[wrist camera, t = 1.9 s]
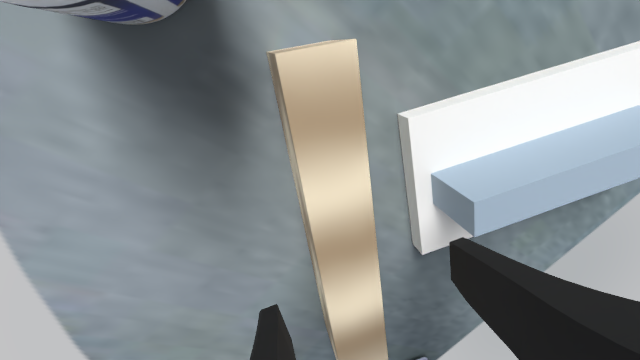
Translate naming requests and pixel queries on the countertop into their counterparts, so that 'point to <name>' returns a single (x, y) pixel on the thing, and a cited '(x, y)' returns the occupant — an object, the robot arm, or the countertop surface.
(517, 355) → the robot arm
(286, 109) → the beam
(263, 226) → the countertop surface
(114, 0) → the pill bottle
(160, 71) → the countertop surface
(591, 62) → the ridge stand
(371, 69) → the countertop surface
